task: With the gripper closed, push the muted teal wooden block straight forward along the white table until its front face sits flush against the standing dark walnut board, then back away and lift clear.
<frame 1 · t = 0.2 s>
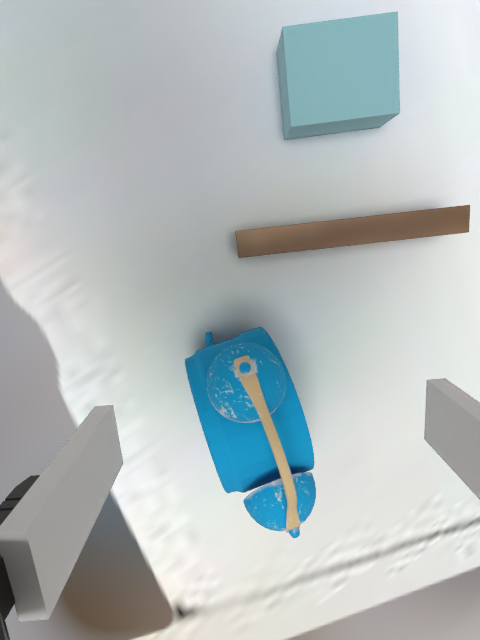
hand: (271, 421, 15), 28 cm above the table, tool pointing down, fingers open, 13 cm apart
board: (336, 231, 41), on the table
block: (328, 91, 38), on the table
alarm clock: (243, 377, 45), on the table
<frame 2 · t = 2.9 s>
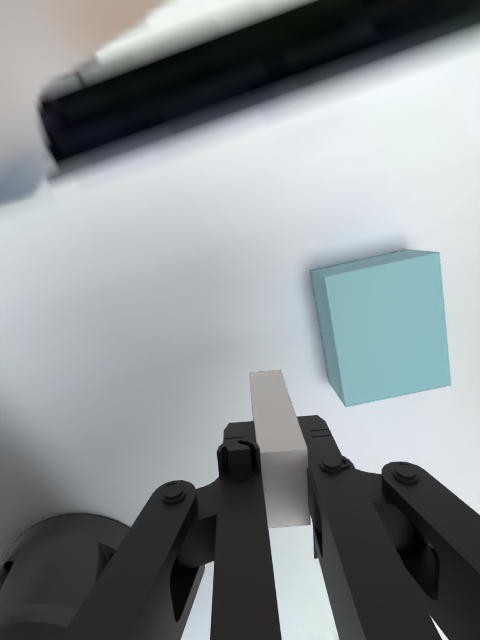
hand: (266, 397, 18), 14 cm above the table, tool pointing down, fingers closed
block: (365, 317, 31), on the table
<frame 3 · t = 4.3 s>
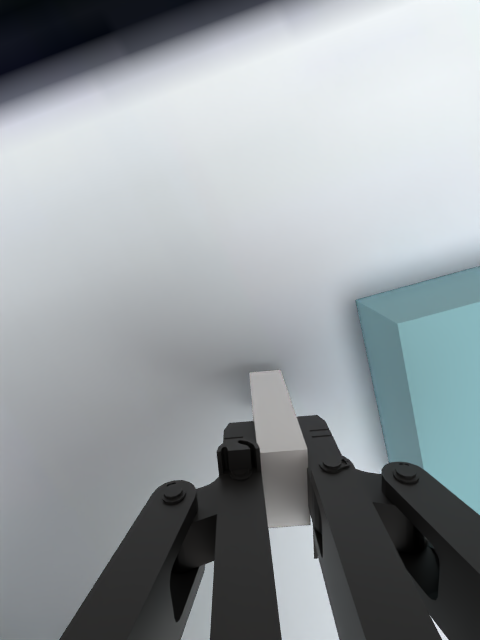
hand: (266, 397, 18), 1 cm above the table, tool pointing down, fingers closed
block: (447, 369, 19), on the table
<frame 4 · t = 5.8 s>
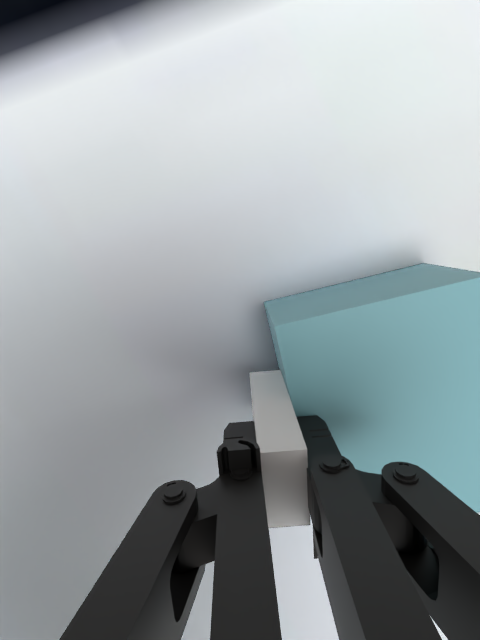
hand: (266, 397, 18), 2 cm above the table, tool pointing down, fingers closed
block: (358, 374, 19), on the table, touching gripper
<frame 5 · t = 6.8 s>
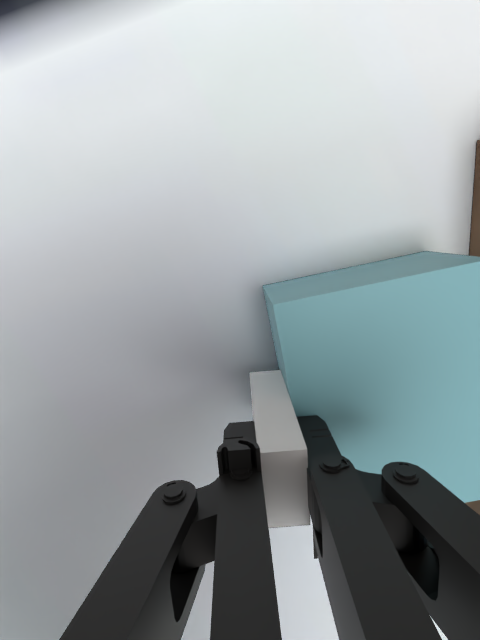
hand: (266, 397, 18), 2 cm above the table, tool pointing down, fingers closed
block: (355, 362, 19), on the table, touching gripper
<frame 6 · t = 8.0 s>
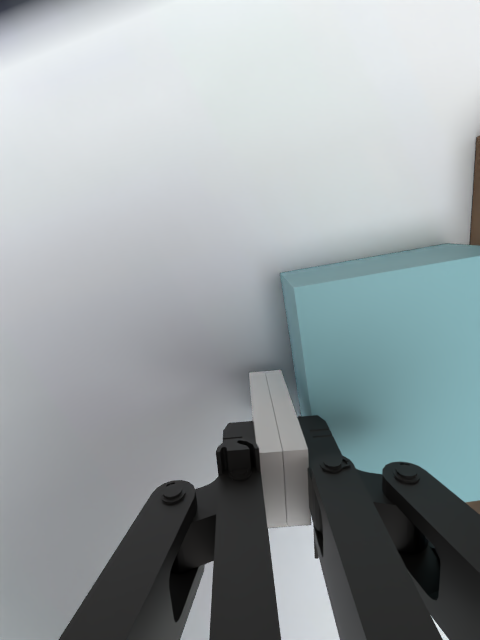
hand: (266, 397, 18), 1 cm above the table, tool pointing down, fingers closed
block: (370, 355, 19), on the table, touching gripper
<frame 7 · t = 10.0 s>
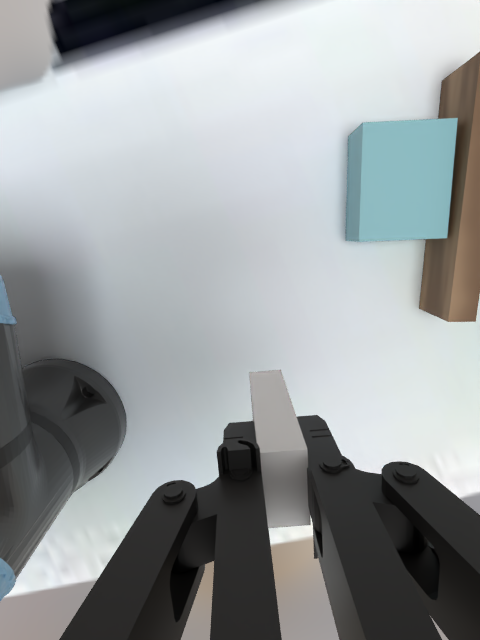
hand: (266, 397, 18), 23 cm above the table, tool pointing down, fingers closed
board: (442, 202, 37), on the table
block: (385, 188, 38), on the table
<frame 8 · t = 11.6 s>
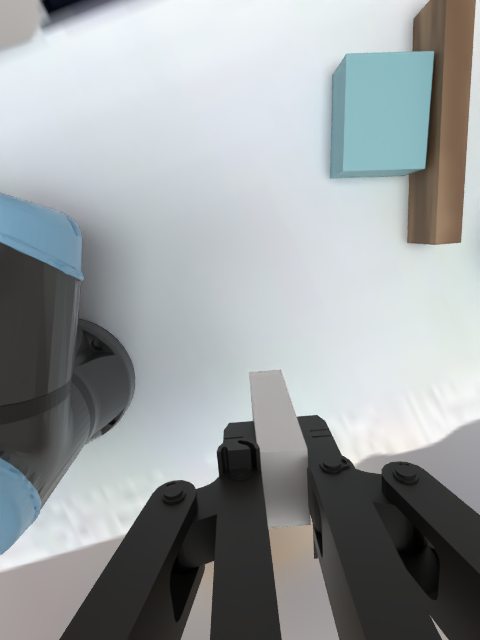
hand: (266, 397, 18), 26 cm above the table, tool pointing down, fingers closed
board: (422, 137, 40), on the table
block: (368, 127, 39), on the table
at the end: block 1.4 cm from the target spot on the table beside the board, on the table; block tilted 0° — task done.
